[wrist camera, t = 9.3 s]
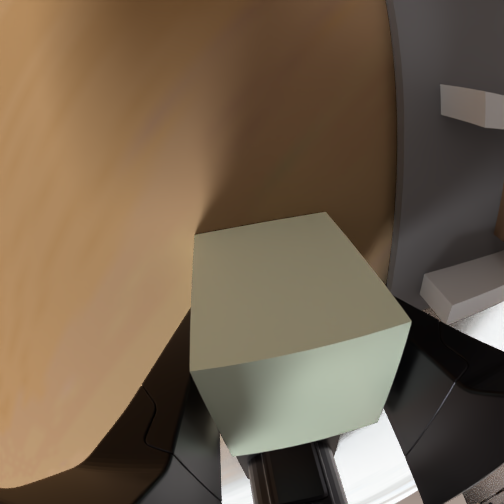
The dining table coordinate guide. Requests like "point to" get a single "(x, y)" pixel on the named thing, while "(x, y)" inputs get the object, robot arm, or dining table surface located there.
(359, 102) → the dining table surface
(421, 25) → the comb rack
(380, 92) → the dining table surface
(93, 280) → the dining table surface
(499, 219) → the walnut block
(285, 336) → the sage block
